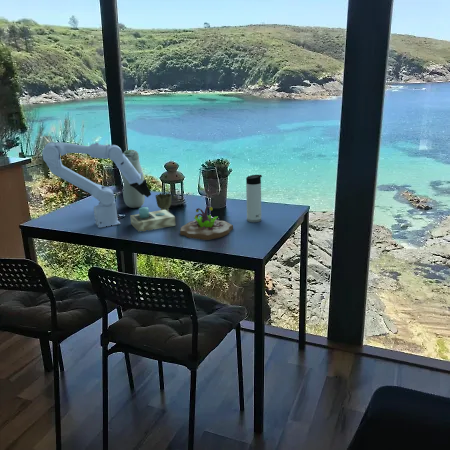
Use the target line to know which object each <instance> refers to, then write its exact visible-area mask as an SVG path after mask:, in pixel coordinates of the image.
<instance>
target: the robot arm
mask: <svg viewBox="0 0 450 450" xmlns="http://www.w3.org/2000/svg"><path fill="white" fill-rule="evenodd" d="M70 153H71V154H84V155H89V156H90V157H91V158H94V159H106V160H107V159H109V160H110V161H112V162H113V163H114V164H115V167H117V169H118V170H119V171H120V172H121V173H122V174H123V175H124V177H125V178H126V179H127V180H128V182H129V184H130V186H132V187H133V188H135V189H136V190H137V191H138V192H139V193H141V194H142V195H145V198H149V197H150V196H151V195H152V193H151V191H150V189H149V186H148V183H147V182H148V181H147V179H144V181H142V180H141V175H142V173H140V174H139V173H138V172H137V170H136V169H135V168H134V166H133V165H132V164H131V162H130V161H129V160H128V158H127V157H126V156H125V155H124V154H123V153H124V152H123V151H122V148H121V147H119V146H118V145H116V144H109V143H108V144H100V143H99V142H95V143H92V144H90V145H84V144H83V145H82V144H77V143H69V142H60V141H59V142H53V141H51V142H48V143H46V144H45V145H44V148H42V152H41V154H42V158H43V161H44V162H45V164H46V166H47V167H48V169H49V171H50V172H51V173H52V174H53V175H55V176H57V177H59V178H60V179H62V180H64V181H66V182H68V183H69V184H72V185H74V186H75V187H77V188H78V189H81V190H82V191H85V192H86V193H89V194H90V195H91V196H92V197H93V198H94V199H95V200H98V204H97V205H94V206H93V213H94V224H95V225H96V226H97V228H100V229H101V228H106V226H107V227H111V225H112V226H119V225H121V222H120V221H119V219H118V211H117V202H116V201H115V195H114V190H113V189H112V188H111V187H109V186H103V185H101V184H98V183H96V182H94V181H92V180H90V179H89V178H87V177H84V176H83V175H81V174H79V173H77V172H75V171H74V170H72V169H71V168H68V167H67V166H65V165H63V162H62V159H61V157H63V156H64V155H66V154H70Z"/></svg>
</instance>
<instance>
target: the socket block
mask: <svg viewBox="0 0 450 450" xmlns="http://www.w3.org/2000/svg"><path fill="white" fill-rule="evenodd" d="M129 217H130V224H131V225H132V227H134V229H135V230H137V232H139V231H143V232H147V231H146V230H148V231H152V230H153V229H154V230H158V229H163V228H170V227H174V226H176V216H175V215H174V214H173V213H171V212H170V211H169V210H168V211H167V210H161V209H160V210H155V211H149V217H148V218H140V215H139V213H137V214H132V215H131V214H130V215H129Z"/></svg>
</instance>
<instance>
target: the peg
mask: <svg viewBox="0 0 450 450" xmlns="http://www.w3.org/2000/svg"><path fill="white" fill-rule="evenodd" d="M138 211H139V213H138V214H139V215H140V218H148V217H149V212H150V210H149V207H148V206H141V207H138Z"/></svg>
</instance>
